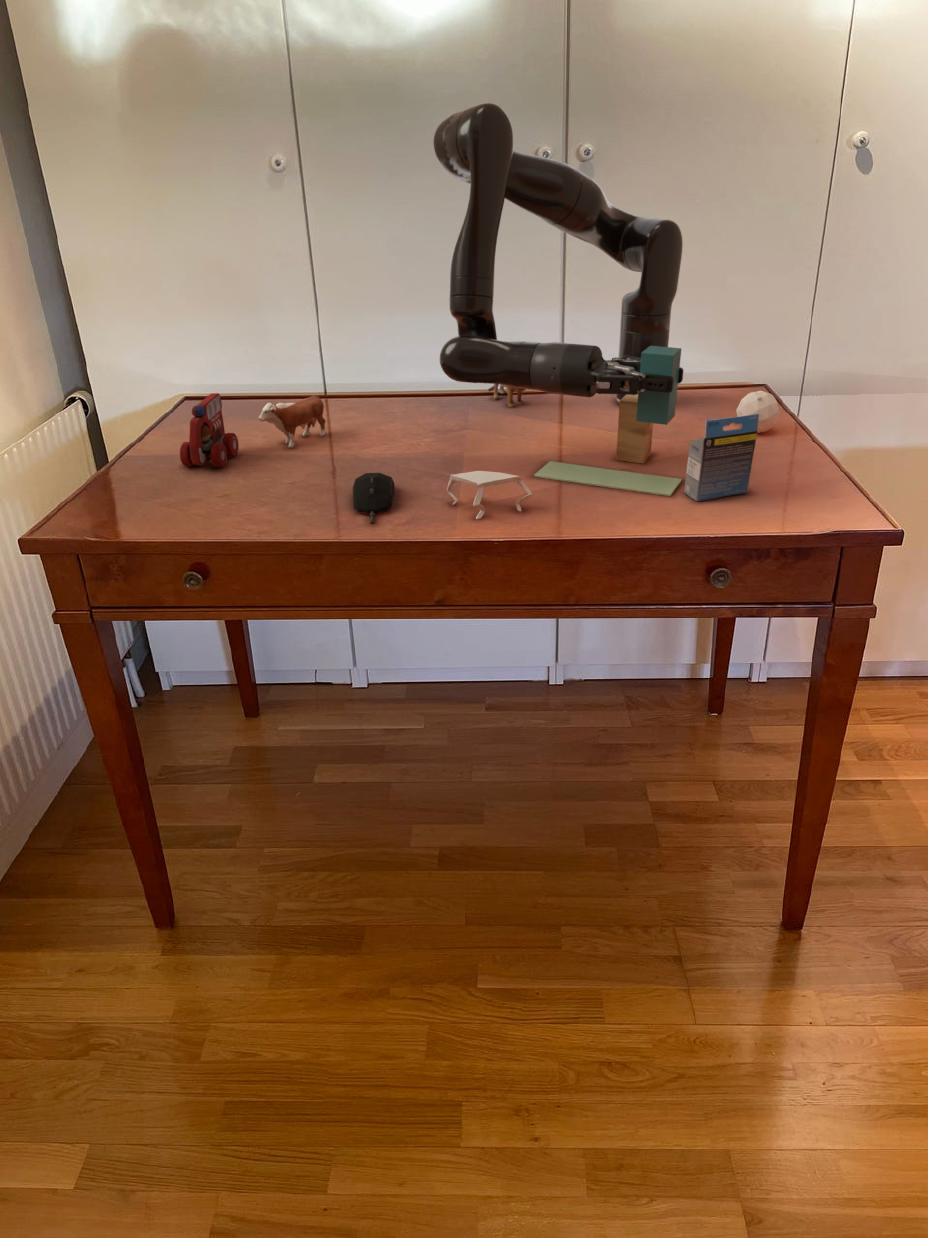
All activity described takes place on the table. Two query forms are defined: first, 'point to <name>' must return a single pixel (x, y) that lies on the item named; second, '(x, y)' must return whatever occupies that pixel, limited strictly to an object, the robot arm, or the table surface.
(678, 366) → the teal block
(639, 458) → the birch block
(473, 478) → the beige toy table
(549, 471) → the sage strip
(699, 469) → the label tape box
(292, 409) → the bull figurine
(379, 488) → the gaming mouse
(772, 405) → the ornament
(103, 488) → the table surface
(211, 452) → the toy fire truck
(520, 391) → the lion figurine
